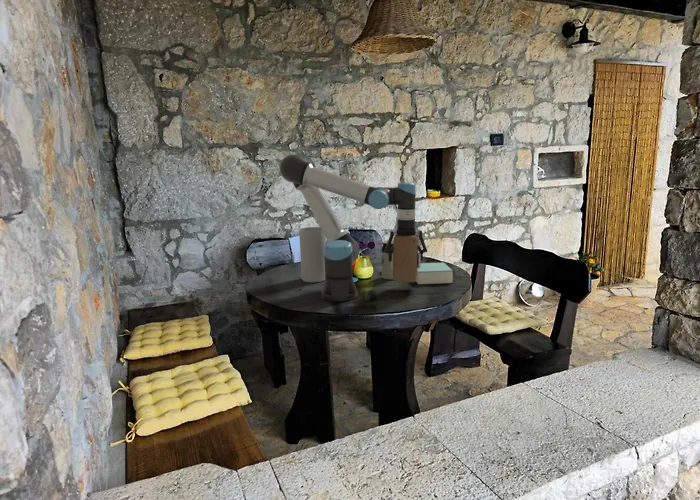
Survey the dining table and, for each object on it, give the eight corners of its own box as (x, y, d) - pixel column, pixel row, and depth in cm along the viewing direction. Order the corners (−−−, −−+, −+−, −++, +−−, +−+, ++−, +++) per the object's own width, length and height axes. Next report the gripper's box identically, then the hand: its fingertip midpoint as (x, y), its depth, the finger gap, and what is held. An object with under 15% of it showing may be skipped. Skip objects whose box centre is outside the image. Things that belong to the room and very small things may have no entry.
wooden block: (415, 283, 202) (416, 237, 198) (392, 281, 204) (393, 236, 199) (417, 277, 211) (418, 233, 207) (395, 276, 213) (395, 232, 209)
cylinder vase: (324, 275, 237) (322, 226, 232) (329, 281, 225) (327, 230, 220) (299, 277, 234) (297, 228, 229) (303, 284, 222) (301, 231, 217)
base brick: (418, 284, 216) (418, 271, 215) (411, 275, 232) (411, 263, 231) (452, 282, 217) (452, 270, 216) (443, 274, 233) (443, 262, 232)
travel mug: (398, 275, 233) (398, 239, 229) (398, 279, 225) (398, 242, 222) (382, 275, 234) (381, 240, 230) (381, 279, 226) (381, 243, 222)
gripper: (380, 220, 198) (379, 270, 202) (435, 219, 199) (433, 269, 203) (378, 218, 205) (377, 266, 209) (431, 217, 206) (429, 265, 211)
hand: (405, 268), depth 206 cm, fingers closed on wooden block, 11 cm apart
